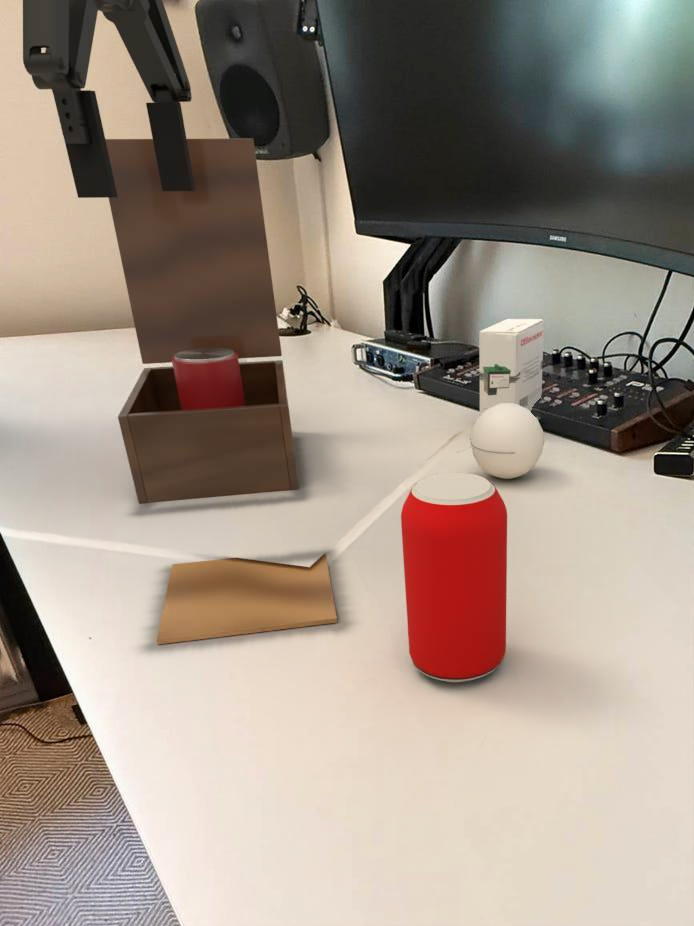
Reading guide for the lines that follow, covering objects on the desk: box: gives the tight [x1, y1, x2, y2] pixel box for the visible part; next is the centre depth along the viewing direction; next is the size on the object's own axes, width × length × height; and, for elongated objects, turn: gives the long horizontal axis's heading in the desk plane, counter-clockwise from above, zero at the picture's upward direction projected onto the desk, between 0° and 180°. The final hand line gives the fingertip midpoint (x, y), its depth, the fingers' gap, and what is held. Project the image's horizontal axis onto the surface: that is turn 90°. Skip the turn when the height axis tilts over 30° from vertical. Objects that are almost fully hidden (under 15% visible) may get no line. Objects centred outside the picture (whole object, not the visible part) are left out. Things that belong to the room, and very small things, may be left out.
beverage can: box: [400, 472, 508, 683], centre depth 48 cm, size 6×6×12 cm
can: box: [171, 348, 246, 410], centre depth 80 cm, size 6×6×11 cm
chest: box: [117, 359, 300, 505], centre depth 81 cm, size 20×15×9 cm
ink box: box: [478, 318, 545, 421], centre depth 93 cm, size 9×5×12 cm, turn 156°
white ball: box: [455, 403, 545, 480], centre depth 79 cm, size 10×7×7 cm
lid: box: [105, 137, 283, 365], centre depth 83 cm, size 20×15×1 cm
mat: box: [156, 552, 338, 645], centre depth 60 cm, size 12×12×1 cm
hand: (142, 194), depth 65 cm, fingers open, 13 cm apart
